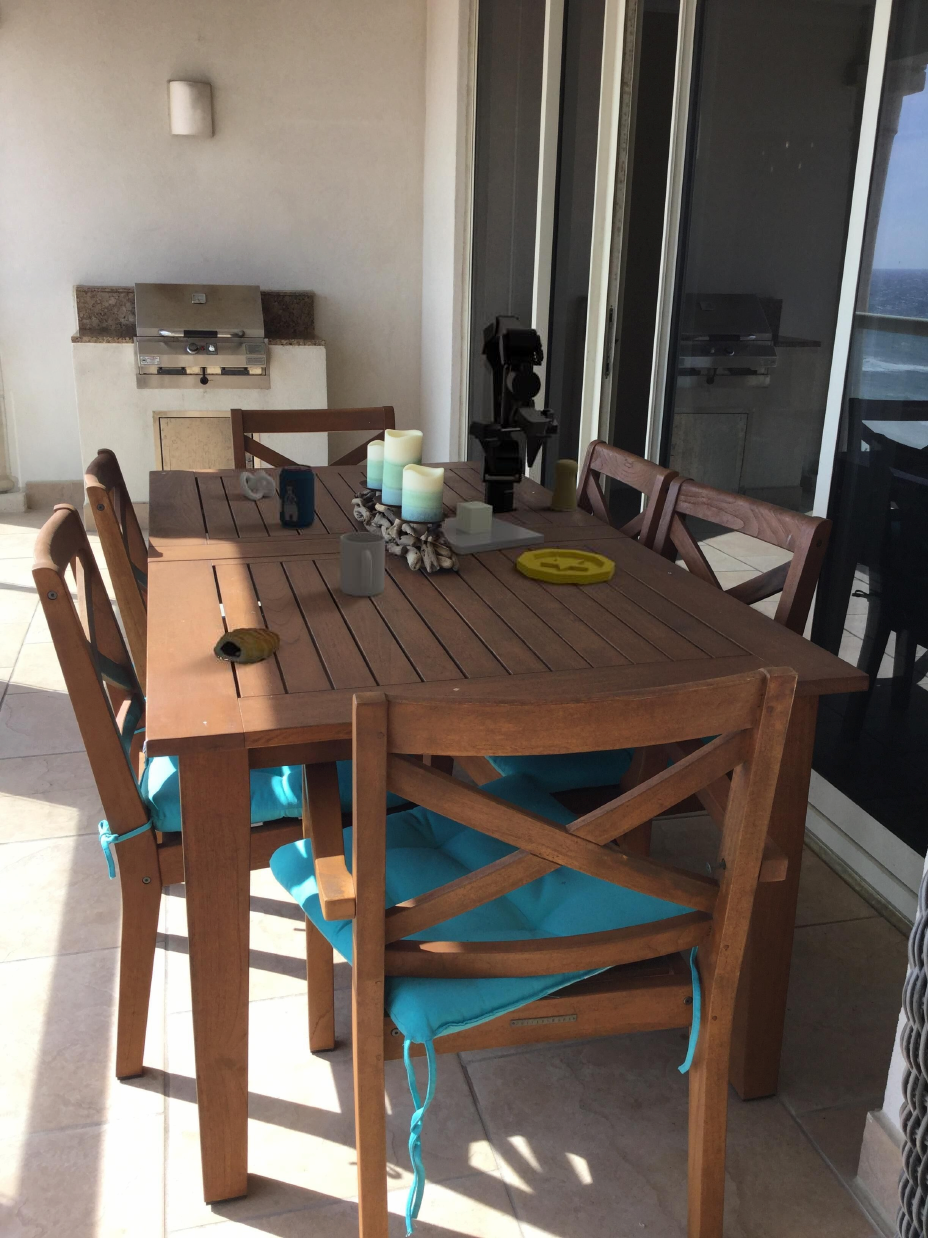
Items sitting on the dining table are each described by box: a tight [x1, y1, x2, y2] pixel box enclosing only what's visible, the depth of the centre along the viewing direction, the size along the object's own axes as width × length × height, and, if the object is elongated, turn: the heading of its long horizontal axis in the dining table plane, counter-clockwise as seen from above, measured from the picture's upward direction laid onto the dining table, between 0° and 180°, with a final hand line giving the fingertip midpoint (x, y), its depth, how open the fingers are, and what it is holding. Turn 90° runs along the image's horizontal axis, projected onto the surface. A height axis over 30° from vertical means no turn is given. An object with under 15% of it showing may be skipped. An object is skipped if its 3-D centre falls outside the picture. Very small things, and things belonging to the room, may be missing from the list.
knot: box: [238, 469, 277, 501], centre depth 233 cm, size 8×8×6 cm
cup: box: [339, 531, 386, 598], centre depth 169 cm, size 7×10×9 cm
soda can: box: [278, 463, 316, 530], centre depth 209 cm, size 7×7×12 cm
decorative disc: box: [516, 548, 616, 585], centre depth 188 cm, size 17×18×2 cm
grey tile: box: [442, 516, 545, 555], centre depth 208 cm, size 20×20×2 cm
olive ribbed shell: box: [213, 627, 281, 665], centre depth 142 cm, size 9×7×4 cm
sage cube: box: [455, 500, 493, 534], centre depth 207 cm, size 5×5×5 cm
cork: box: [549, 459, 579, 511], centre depth 235 cm, size 6×6×11 cm
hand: (511, 469), depth 216 cm, fingers open, 9 cm apart
